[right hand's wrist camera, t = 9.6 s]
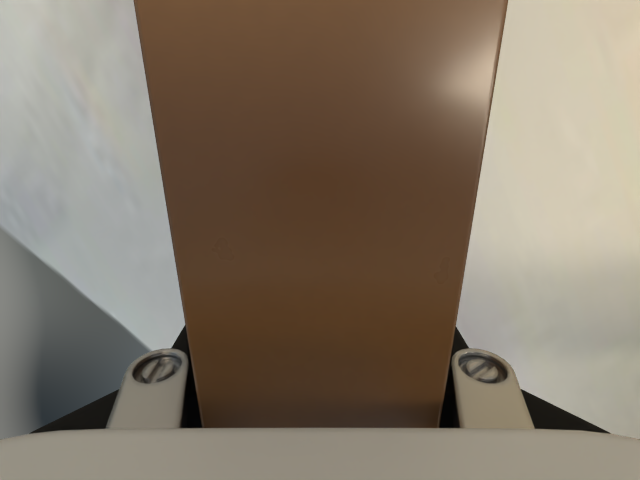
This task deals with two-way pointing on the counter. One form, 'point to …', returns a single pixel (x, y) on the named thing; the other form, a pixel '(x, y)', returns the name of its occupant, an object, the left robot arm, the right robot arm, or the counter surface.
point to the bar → (320, 197)
